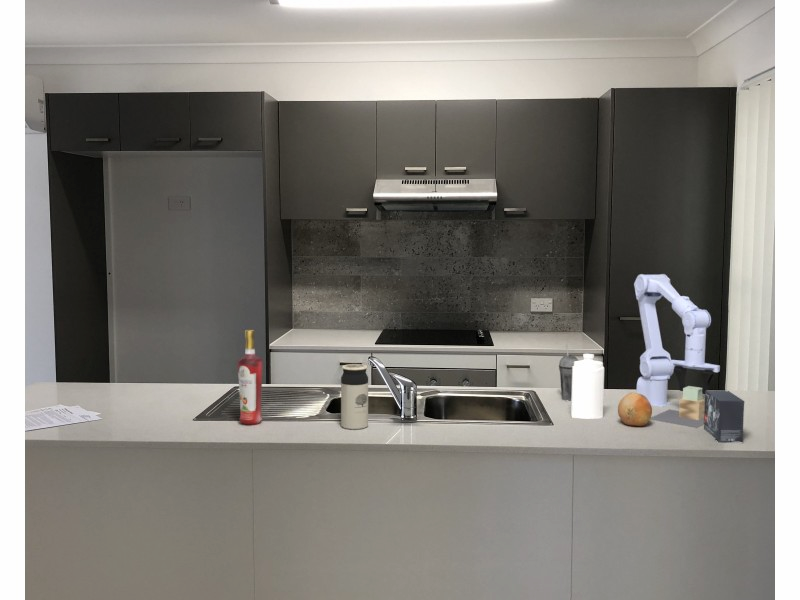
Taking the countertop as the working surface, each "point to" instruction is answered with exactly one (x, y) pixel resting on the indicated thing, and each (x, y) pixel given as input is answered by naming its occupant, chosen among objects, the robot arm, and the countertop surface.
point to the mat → (677, 419)
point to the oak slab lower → (691, 414)
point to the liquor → (250, 383)
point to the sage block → (692, 393)
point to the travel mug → (354, 396)
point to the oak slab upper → (692, 404)
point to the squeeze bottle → (587, 388)
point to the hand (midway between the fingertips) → (693, 392)
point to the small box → (724, 416)
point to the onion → (634, 409)
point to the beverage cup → (566, 375)
